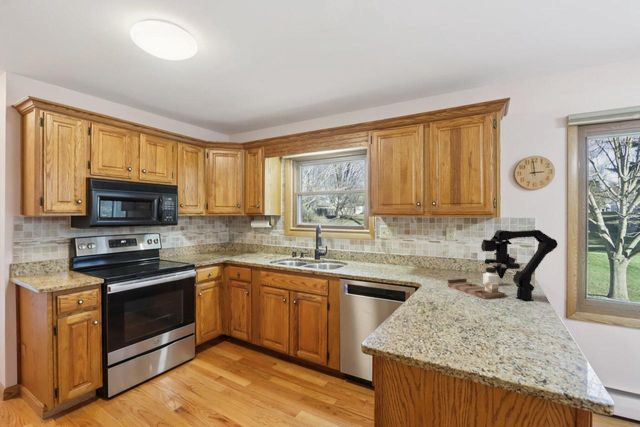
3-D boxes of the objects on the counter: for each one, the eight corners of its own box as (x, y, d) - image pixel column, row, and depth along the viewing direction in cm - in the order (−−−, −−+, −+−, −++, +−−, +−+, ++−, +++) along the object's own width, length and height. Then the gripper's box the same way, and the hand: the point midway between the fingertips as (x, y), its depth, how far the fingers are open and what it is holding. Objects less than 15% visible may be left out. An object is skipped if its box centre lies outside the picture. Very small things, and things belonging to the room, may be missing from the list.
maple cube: (498, 292, 179) (498, 283, 178) (491, 292, 177) (491, 284, 177) (491, 289, 183) (491, 281, 183) (484, 290, 182) (484, 282, 182)
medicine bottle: (498, 286, 202) (499, 268, 202) (488, 286, 202) (488, 268, 202) (493, 283, 209) (493, 266, 209) (482, 283, 209) (483, 266, 209)
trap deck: (504, 297, 176) (504, 289, 176) (484, 299, 172) (484, 291, 172) (465, 284, 205) (465, 278, 205) (447, 286, 200) (447, 279, 200)
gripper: (527, 253, 167) (527, 281, 167) (498, 249, 185) (497, 274, 185) (512, 254, 164) (512, 282, 164) (484, 249, 182) (483, 275, 182)
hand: (501, 278), depth 174 cm, fingers closed
